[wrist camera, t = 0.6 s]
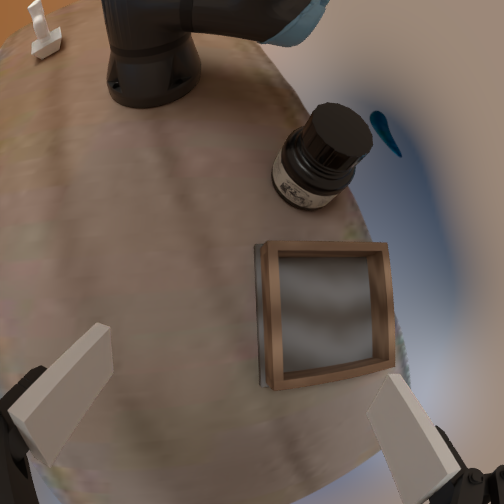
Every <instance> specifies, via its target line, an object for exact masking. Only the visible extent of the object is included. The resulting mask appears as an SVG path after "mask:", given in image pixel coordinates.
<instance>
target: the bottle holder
mask: <svg viewBox="0 0 504 504" xmlns="http://www.w3.org/2000/svg"><path fill="white" fill-rule="evenodd" d="M254 263H255V287H256V312H257V336H258V361H259V385H260V386H261V387H270V388H271V389H273V390H274V391H277V390H285V389H293V388H300V387H306V386H312V385H318V384H324V383H329V382H334V381H339V380H344V379H348V378H353V377H357V376H361V375H366V374H370V373H374V372H377V371H381V370H385V369H388V368H392V367H395V320H394V302H393V288H392V277H391V269H390V259H389V252H388V244H387V243H381V242H380V243H379V242H334V241H267V242H266V243H265V244H255V245H254Z"/></svg>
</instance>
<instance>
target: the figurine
mask: <svg viewBox="0 0 504 504" xmlns="http://www.w3.org/2000/svg"><path fill="white" fill-rule="evenodd" d="M28 11H29V13H30V14H31V17H32V20H33V27H34V31H35V33H36V36H37V38H38V39H37V40H35V41H34V42H32V55H34V56H36V57H38V58H40V59H44V58H45V57H47V56H49V55H51V54H52V53H54V52H56V51H58V50H59V48H60V43H61V39H62V36H61V30H60V27H59V28H57V29H55V30H53V31H51V32H49V29H48V26H47V23H46V19H45V16H44V10H43V7H42V3H41V0H36V1H34V2H33V3H32V4H31V5H30V6H29V7H28Z"/></svg>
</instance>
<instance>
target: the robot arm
mask: <svg viewBox="0 0 504 504" xmlns="http://www.w3.org/2000/svg"><path fill="white" fill-rule="evenodd" d="M329 1H330V0H101V2H102V8H103V14H104V19H105V24H106V30H107V34H108V39H109V44H110V49H111V53H110V59H109V65H108V71H107V86H108V89H109V92H110V95H111V96H112V98H113V99H114V100H115V101H117V102H118V103H120V104H122V105H125V106H129V107H135V108H147V107H155V106H160V105H163V104H167V103H170V102H172V101H175V100H177V99H179V98H181V97H182V96H184V95H185V94H187V93H188V92H189V91H191V90H192V89H193V88H194V86H195V85H196V84H197V82H198V80H199V78H200V70H201V61H200V57H199V55H198V52H197V50H196V47H195V44H194V42H193V39H192V37H191V32H194V33H205V34H214V35H222V36H229V37H236V38H242V39H247V40H253V41H257V43H259V44H272V45H277V46H282V47H292V46H296V45H298V44H300V43H301V42H303V41H304V40H305V39H306V38H307V37H308V36H309V35H310V34H311V32H312V31H313V30H314V28H315V27H316V25H317V24H318V22H319V21H320V19H321V17H322V16H323V14H324V12H325V6H326V5H327V4H328V2H329ZM113 373H114V369H113V357H112V342H111V327H109V326H106V325H103V324H101V323H98V322H97V323H96V324H94V325H93V326H92V327H91V328H90V329H89V330H88V331H87V332H86V333H85V334H84V335H83V336H81V337H80V338H79V339H78V340H77V341H76V342H75V343H74V344H73V345H72V346H71V347H70V348H69V349H68V350H67V351H66V352H64V353H63V354H62V355H61V356H60V357H59V358H58V359H57V360H56V361H55V362H54V363H53V364H52V365H51V366H50V367H49V368H48V369H47V368H45V367H44V366H42V365H41V366H38V367H36V368H34V369H31V370H30V371H29V372H28V373H27V374H26V375H25V376H24V378H22V379H21V380H20V381H19V382H18V384H16V385H15V386H13V387H12V388H11V389H10V390H9V391H8V392H7V393H6V394H5V395H4V396H3V397H2V398H1V399H0V504H39V502H38V498H37V495H36V491H35V488H34V484H33V480H32V476H31V472H30V467H29V462H28V458H27V455H26V453H27V452H28V450H30V451H31V453H32V455H33V456H34V458H36V459H37V460H39V461H41V462H42V463H44V464H45V465H47V466H49V467H51V466H52V464H53V462H54V461H55V459H56V458H57V456H58V454H59V453H60V451H61V450H62V448H63V447H64V445H65V444H66V442H67V440H68V439H69V437H70V436H71V434H72V433H73V431H74V430H75V428H76V427H77V425H78V424H79V422H80V421H81V419H82V418H83V416H84V415H85V413H86V412H87V411H88V409H89V408H90V406H91V405H92V403H93V402H94V400H95V399H96V397H97V396H98V395H99V393H100V392H101V390H102V389H103V387H104V386H105V385H106V383H107V382H108V380H109V379H110V378H111V376H112V375H113ZM366 415H367V417H368V419H369V421H370V424H371V426H372V428H373V431H374V433H375V435H376V438H377V440H378V442H379V445H380V447H381V450H382V452H383V454H384V457H385V459H386V461H387V464H388V467H389V469H390V471H391V474H392V477H393V479H394V482H395V484H396V487H397V489H398V492H399V494H400V497H401V499H402V502H403V504H423V503H424V502H425V501H426V500H428V499H429V501H430V503H429V504H488V503H489V502H490V501H491V504H504V465H500V466H499V467H497V469H496V470H495V471H494V472H493V473H489V474H483V473H482V472H481V471H480V470H478V469H476V468H470V469H468V468H467V467H466V465H465V464H464V462H463V460H462V459H461V457H460V456H459V454H458V452H457V451H456V449H455V448H454V447H453V445H452V443H451V441H449V438H448V437H447V435H446V434H445V432H444V431H443V430H442V429H440V428H439V427H438V426H434V424H433V423H432V421H431V420H430V418H429V416H428V415H427V414H426V412H425V410H424V409H423V408H422V406H421V404H420V403H419V401H418V400H417V398H416V397H415V395H414V394H413V393H412V391H411V390H410V388H409V387H408V385H407V384H406V382H405V381H404V379H403V378H402V377H401V375H400V374H388V375H387V376H386V378H385V380H384V382H383V384H382V386H381V388H380V390H379V392H378V393H377V395H376V397H375V399H374V400H373V402H372V404H371V406H370V407H369V409H368V411H367V412H366Z"/></svg>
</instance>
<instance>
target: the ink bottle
mask: <svg viewBox="0 0 504 504" xmlns="http://www.w3.org/2000/svg"><path fill="white" fill-rule="evenodd" d="M372 146H373V141H372V134H371V132H370V129H369V127H368V125H367V124H366V123H365V122H364V120H363V119H362V118H361V116H359V115H358V114H357V113H355V112H354V111H353V110H351V109H350V108H348V107H345V106H343V105H340V104H338V103H337V104H336V103H328V102H327V103H325V104H321V105H318V106H317V108H316V109H315V110H314V111H313V112H312V114H311V116H310V117H309V119H308V121H307V122H306V124H305V126H303V127H300V128H298V129H296V130H294V131H293V132H292V133H291V134H290V135H289V136H288V138H287V139H286V141H285V143H284V145H283V147H282V148H281V150H280V152H279V153H278V155H277V157H276V159H275V162H274V164H273V167H272V182H273V185H274V187H275V189H276V190H277V192H278V193H279V194H280V196H281V197H282V198H283V199H284V200H285V201H287V202H288V203H289V204H291V205H293V206H295V207H297V208H299V209H303V210H316V209H319V208H322V207H323V206H325V205H326V204H328V203H329V202H330V201H331V200H332V199H333V198H334V197H336V196H337V195H338V194H339V193H340V192H341V191H342V190H344V189H345V188H346V187H347V186H348V185H349V184H350V182H351V181H352V179H353V177H354V174H355V168H356V165H357V164H358V163H359V162H360V161H361V160H362V159H363V158H364V157H365V156H366V155H367V154H368V153H369V152H370V149H371V147H372Z"/></svg>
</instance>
